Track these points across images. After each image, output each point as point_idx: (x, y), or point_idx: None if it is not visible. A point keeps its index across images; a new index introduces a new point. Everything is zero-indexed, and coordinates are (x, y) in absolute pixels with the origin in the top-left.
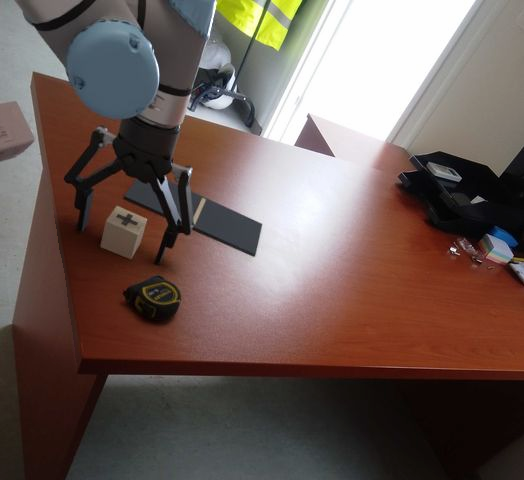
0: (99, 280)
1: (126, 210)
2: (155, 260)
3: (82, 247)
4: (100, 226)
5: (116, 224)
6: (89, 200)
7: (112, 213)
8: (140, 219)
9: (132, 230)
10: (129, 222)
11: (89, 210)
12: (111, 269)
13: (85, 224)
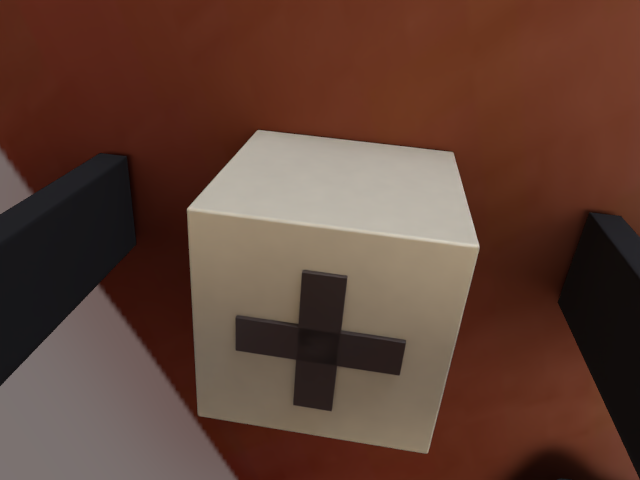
0: (322, 466)
1: (276, 227)
2: (564, 314)
3: (190, 325)
4: (189, 117)
5: (267, 419)
6: (6, 314)
7: (199, 325)
8: (418, 283)
9: (383, 433)
10: (342, 363)
11: (67, 220)
12: None
13: (119, 211)
